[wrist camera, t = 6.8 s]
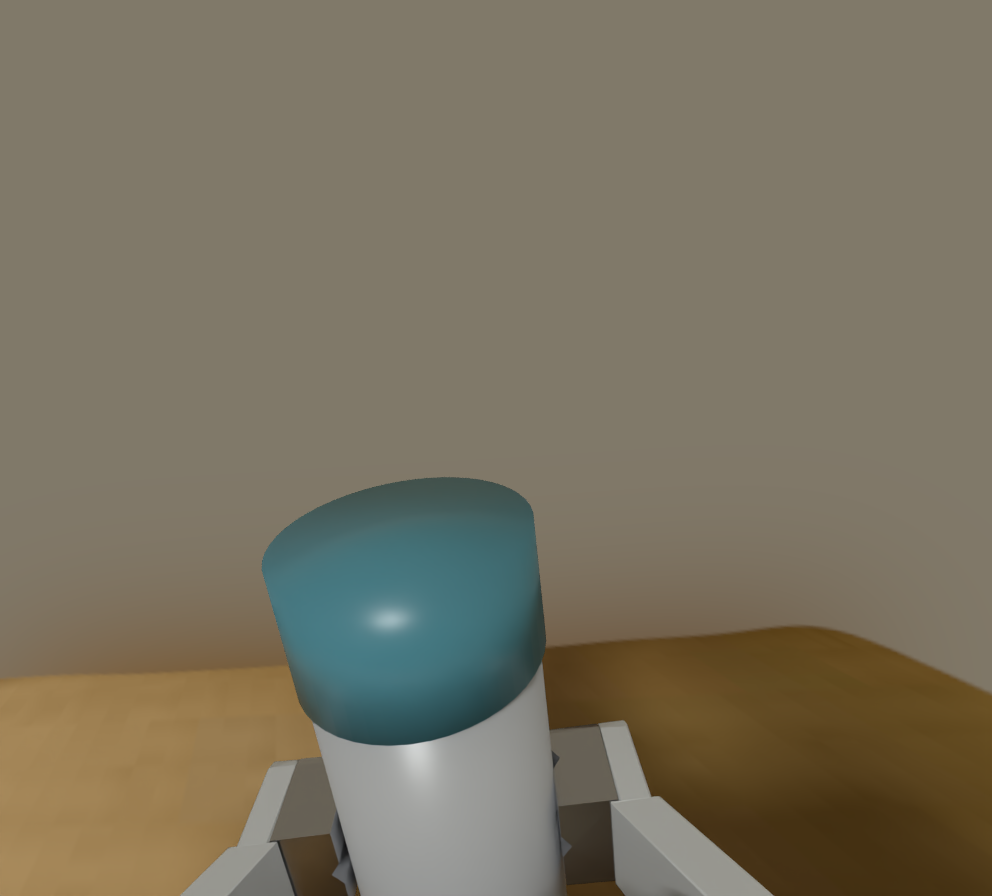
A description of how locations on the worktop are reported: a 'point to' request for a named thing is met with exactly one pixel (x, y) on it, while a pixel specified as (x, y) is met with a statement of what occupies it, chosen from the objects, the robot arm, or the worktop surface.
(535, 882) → the water bottle
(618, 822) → the robot arm
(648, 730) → the worktop surface
